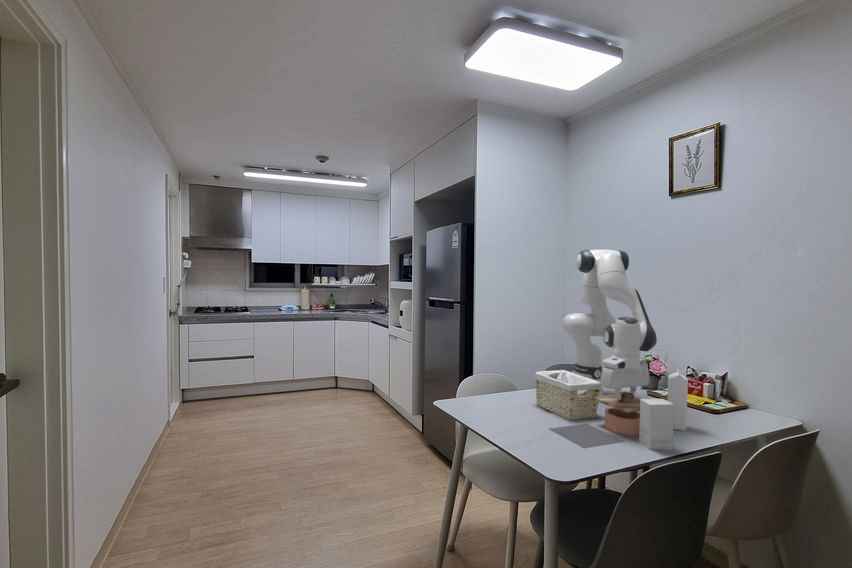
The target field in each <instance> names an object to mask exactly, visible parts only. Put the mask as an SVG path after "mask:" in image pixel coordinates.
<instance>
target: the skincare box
mask: <svg viewBox="0 0 852 568" xmlns="http://www.w3.org/2000/svg"><path fill="white" fill-rule="evenodd" d="M639 399H640V411H639V413H640V428H639V436H638V437H639V438H638V439H639V440H638V442H639V444H641V445H643V447H645V448H647V450H673V444H674V438H673V437H674V429H673V414H674V404H673V403H671V402H668V401H667V399H664V398H639Z"/></svg>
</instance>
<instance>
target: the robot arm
mask: <svg viewBox="0 0 852 568" xmlns="http://www.w3.org/2000/svg"><path fill="white" fill-rule="evenodd" d="M575 263H576V267H577V269H578V271H579V272H581V273H583V275H582V281H581V291H580V301H581V303H582V304H584V305H585V306H586V307H588V308H590V311H591V312H590V313H587V312H586V313H585V312H584V313H583V312H574V313H569V314H566V315H565V316H564V318H563V320H562V328H563V331H564V332H565V333H566V334H567V335H568V336H569V337H570V338H571V339H572V340H573V343H574V344H575V347H576V363H573V364H572V366H573V367H574V368H573V370H572V371H570V372H571V373H574V374H577V375H580V376H583V377H586V378H589V379H592V380H595V381H598V382H600V383H601V389H600V392H599V396H605V395H604V393H605V392H604V389H603V388H605V389H608V390H612V389H613V390H614V393H615V395H616V398H617V399H618V400H623V395H621V392H622V389H625V388H629V391H628V392H629V393H632V394H634V395H635V394H636V393H637V390H638V387H647V386H648V385H649V384H650V372H649V368H648V366H649V365H648V363H647V362H646V361H645V360H641V352H649V351H651V350H652V349H653V348H654V347H655V346H656V344H657V338H658V337H657V334H656V331H655V329H654V327H653V325H652V323H651V322H650V319H649V316H648V313H647V310H646V307H645V305H644V302H643V300H642V298H641V295H640V293H639V291H638V290H637V288H634V287H633V286H632V285H631V284H630V282H629V280H628V277H627V274H626V271H627V270H628V269H629V266H630V257H629V255H628V253H627V252H626V251H624V250H620V249H619V250H618V249H617V250H615V249H605V248H603V249H584V250H580V252H579V253H578V254H577V256H576V262H575ZM607 298H608V299H611V300H613V301H616V302H619V303H621V304H624V305H625V306H627V307H628V308H629V310H630V311H631V314H632V316H633V317H630V316H620V317H618V318H616V316H614V315H613V314H612V313H611V311H609V308H608V306H607ZM591 337H600V338H601V337H603V343H604V344H605V345H606V346H607V347H608V348H611V349H614V351H613V354H612V355H611V356H609V357H608V358H605V359H603V360H602V355H603V353H602V349H601V348H600V346H598V345H597V344H596V343H593V342H592V341H591Z"/></svg>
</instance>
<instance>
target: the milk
mask: <svg viewBox="0 0 852 568" xmlns="http://www.w3.org/2000/svg"><path fill="white" fill-rule="evenodd" d="M676 369H677V370H676V372H673V373H671V374H669V375H667V376H668V377H667V399H666V401H668V402H671V403H673V404H674V414H673V430H679V431H684V432H685V431H686V430H687V416H688V415H687V411H688V389H689V388H688V387H689V386H688V385H689V379H688V378H687V377H686V376H684V374H683V375H682V374H681V373H680V369H679V368H676Z"/></svg>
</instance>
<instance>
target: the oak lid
mask: <svg viewBox="0 0 852 568" xmlns="http://www.w3.org/2000/svg"><path fill="white" fill-rule="evenodd" d="M620 392H621V395H623V400H618V399H617V398H616V394H612V395H610V394H609V395H604V396H598V397H592V400H594V401H597V402H598V403H600V404H602V405H605V406H607V407H610V408H616V409H618V410H621V411H623V412H626V413H629V412H640V399H641V398H639V397H635V394H632V393H629V392H630V391H620Z"/></svg>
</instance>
